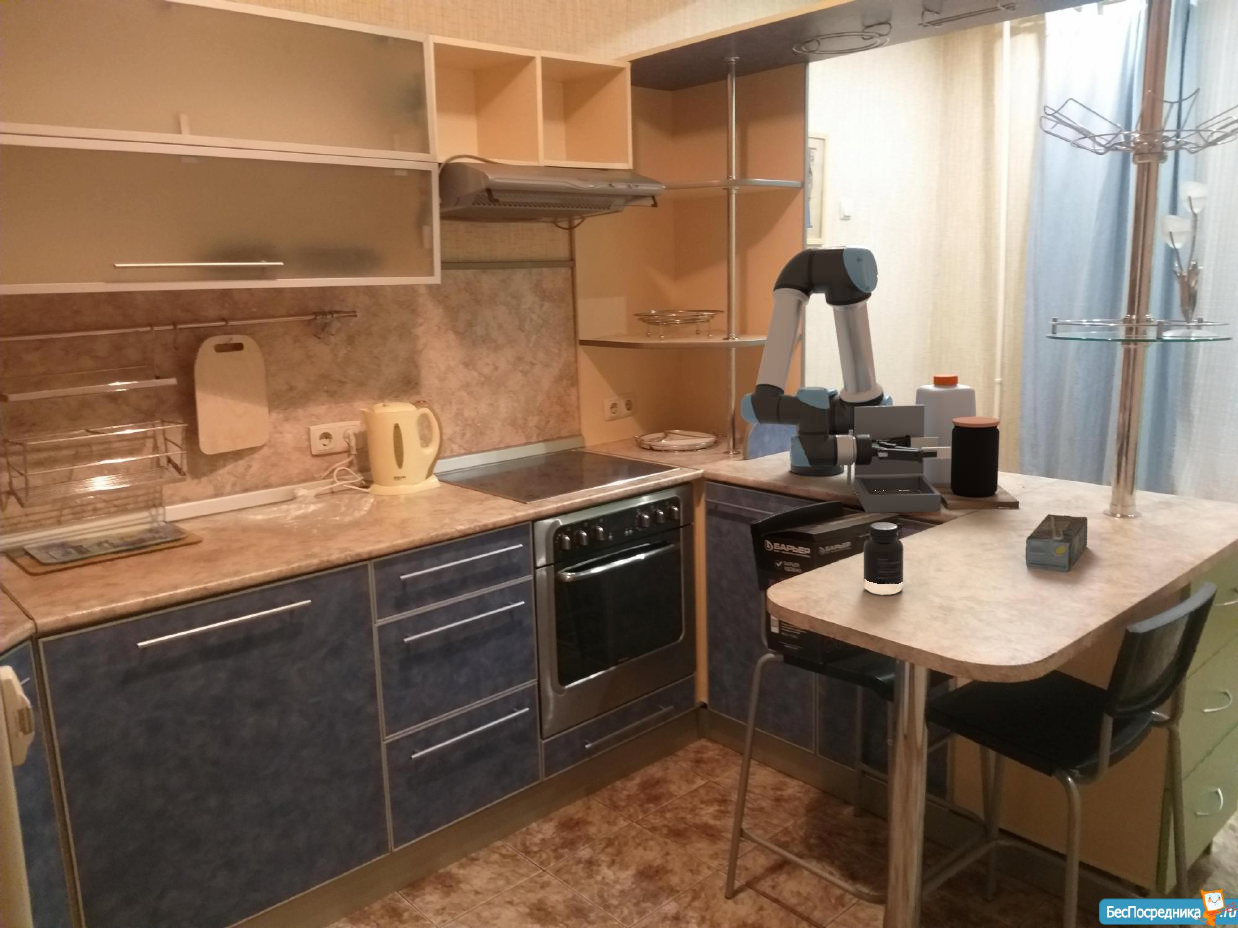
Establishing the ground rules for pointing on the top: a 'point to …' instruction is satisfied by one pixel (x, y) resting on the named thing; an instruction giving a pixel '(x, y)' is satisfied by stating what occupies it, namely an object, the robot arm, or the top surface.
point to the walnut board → (976, 499)
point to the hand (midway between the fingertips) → (944, 447)
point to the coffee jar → (974, 456)
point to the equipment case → (892, 462)
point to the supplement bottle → (883, 554)
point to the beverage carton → (1056, 543)
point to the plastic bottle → (943, 419)
